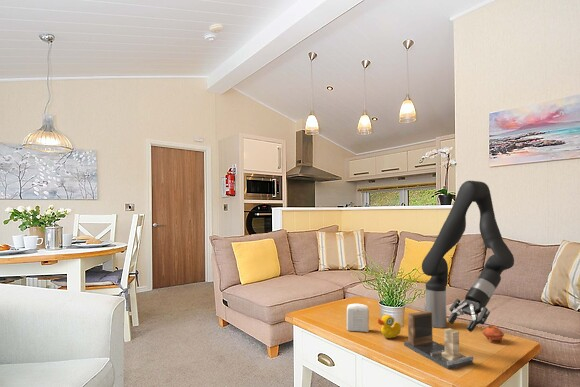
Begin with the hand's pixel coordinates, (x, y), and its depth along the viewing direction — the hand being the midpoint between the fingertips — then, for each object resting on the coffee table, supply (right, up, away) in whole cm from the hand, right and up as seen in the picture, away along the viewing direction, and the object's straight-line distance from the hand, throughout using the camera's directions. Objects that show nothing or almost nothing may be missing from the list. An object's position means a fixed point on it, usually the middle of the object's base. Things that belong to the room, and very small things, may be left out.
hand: (459, 326), depth 130 cm
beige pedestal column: (-4, -11, -2) cm, 12 cm away
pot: (+23, -13, +18) cm, 32 cm away
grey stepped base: (-7, -13, +5) cm, 15 cm away
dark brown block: (-10, -11, +13) cm, 20 cm away
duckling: (-20, -14, +22) cm, 33 cm away
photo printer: (-32, -14, +31) cm, 47 cm away
